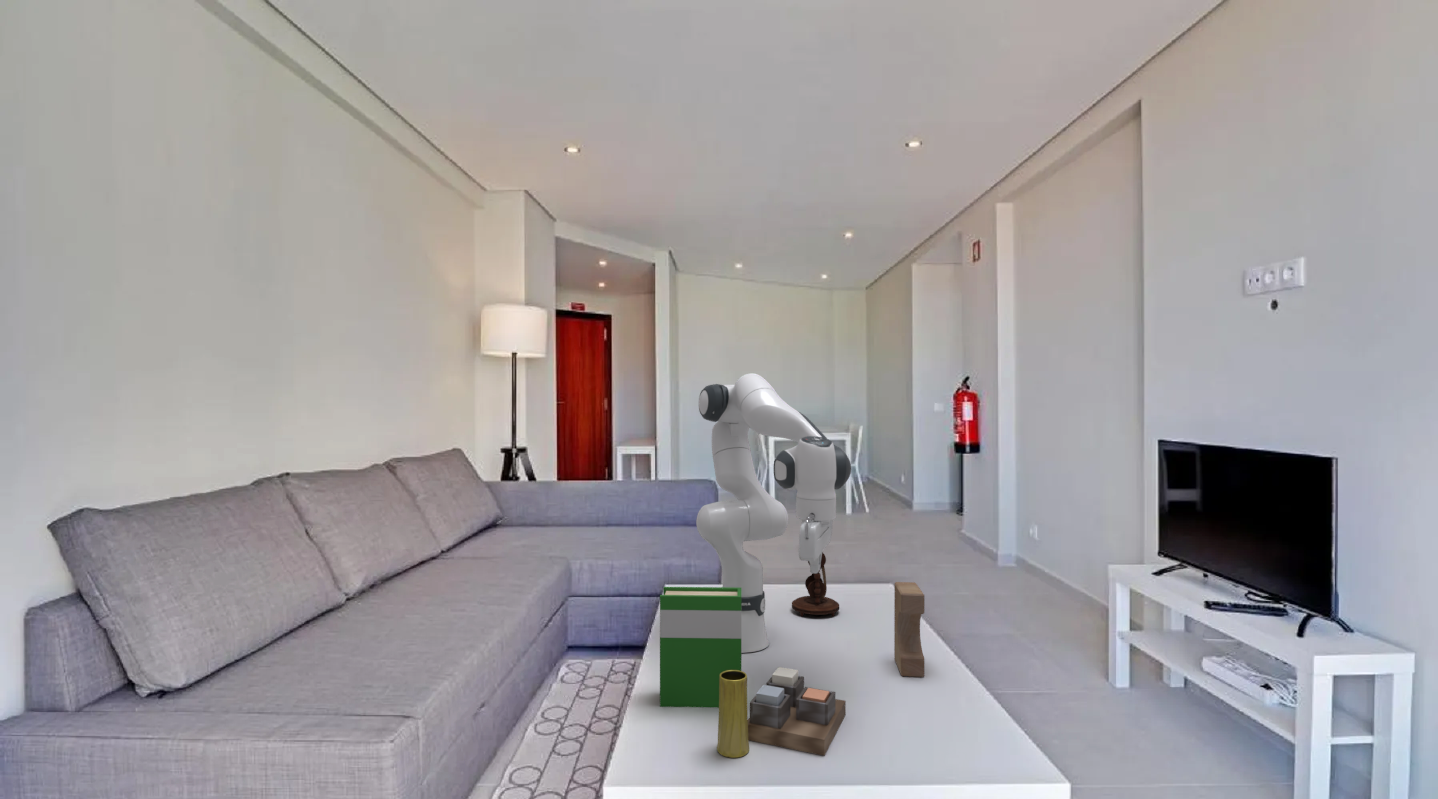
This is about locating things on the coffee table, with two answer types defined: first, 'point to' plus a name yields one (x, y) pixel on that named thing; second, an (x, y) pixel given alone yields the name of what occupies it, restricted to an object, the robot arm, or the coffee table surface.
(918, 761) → the coffee table surface
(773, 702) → the slate button
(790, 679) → the cream button
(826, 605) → the brown figurine
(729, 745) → the vase
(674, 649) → the hardback book
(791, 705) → the block sorting tray
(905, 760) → the coffee table surface
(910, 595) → the decorative block
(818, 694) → the terracotta button
